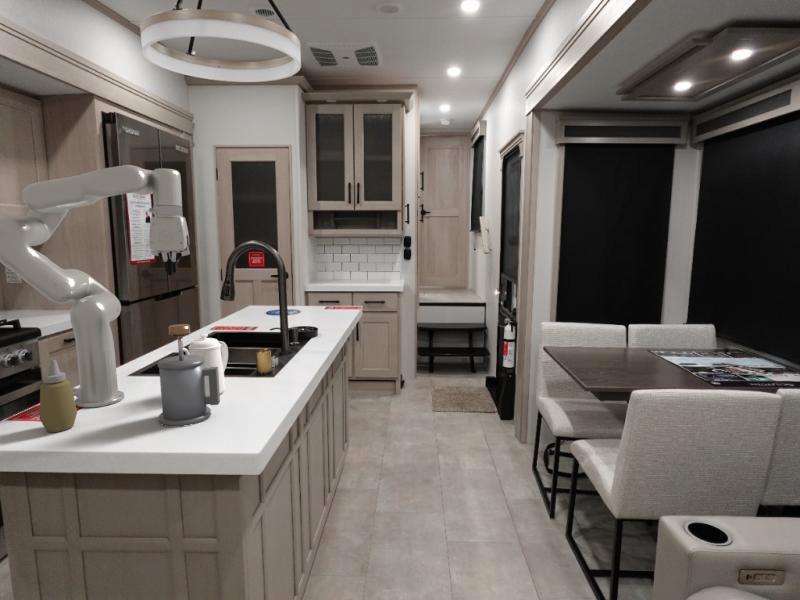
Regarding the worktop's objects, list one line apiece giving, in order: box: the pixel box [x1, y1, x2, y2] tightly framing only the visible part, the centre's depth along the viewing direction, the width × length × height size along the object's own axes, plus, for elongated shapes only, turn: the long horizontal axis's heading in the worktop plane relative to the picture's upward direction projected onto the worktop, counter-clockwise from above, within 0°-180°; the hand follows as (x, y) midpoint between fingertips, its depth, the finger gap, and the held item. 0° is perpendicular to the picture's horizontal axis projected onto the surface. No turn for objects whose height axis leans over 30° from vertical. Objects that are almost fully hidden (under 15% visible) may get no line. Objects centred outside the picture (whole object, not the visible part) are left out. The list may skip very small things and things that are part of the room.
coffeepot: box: [176, 333, 229, 396], centre depth 154 cm, size 11×25×19 cm, turn 168°
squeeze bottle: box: [39, 359, 78, 433], centre depth 128 cm, size 8×8×18 cm
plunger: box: [168, 323, 191, 360], centre depth 133 cm, size 5×5×9 cm
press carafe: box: [157, 354, 221, 427], centre depth 135 cm, size 16×13×16 cm
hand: (171, 274), depth 149 cm, fingers closed
